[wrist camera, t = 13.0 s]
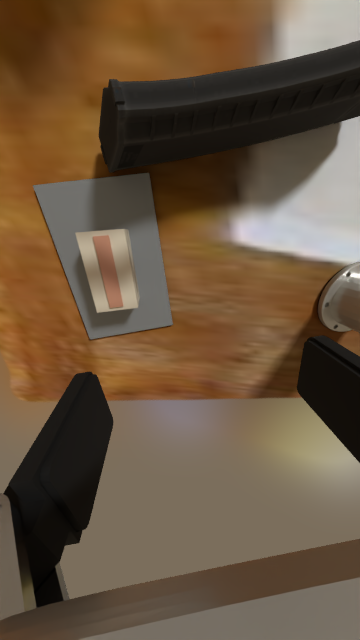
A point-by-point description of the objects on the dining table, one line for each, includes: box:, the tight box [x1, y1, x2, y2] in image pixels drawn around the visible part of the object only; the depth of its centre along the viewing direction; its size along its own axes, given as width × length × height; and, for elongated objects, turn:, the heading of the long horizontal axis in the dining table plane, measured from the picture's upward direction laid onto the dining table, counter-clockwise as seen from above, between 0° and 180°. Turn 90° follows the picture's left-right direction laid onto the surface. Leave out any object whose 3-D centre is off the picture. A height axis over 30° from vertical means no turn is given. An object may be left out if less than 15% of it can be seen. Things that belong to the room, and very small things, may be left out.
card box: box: [75, 229, 140, 313], centre depth 24 cm, size 9×5×5 cm, turn 4°
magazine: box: [99, 40, 360, 173], centre depth 18 cm, size 17×3×30 cm
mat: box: [33, 173, 173, 339], centre depth 26 cm, size 13×20×1 cm, turn 7°
